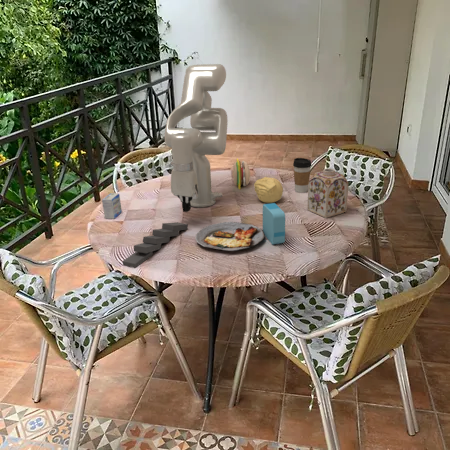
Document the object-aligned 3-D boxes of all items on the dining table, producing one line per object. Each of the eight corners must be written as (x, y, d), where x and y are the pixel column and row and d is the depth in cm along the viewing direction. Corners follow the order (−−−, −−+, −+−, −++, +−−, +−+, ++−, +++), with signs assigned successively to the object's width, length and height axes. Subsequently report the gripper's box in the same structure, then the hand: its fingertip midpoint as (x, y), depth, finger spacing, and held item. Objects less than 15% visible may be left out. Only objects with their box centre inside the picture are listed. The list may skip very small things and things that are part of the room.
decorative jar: (347, 212, 186) (350, 170, 179) (326, 219, 181) (328, 175, 173) (326, 204, 196) (329, 163, 188) (306, 210, 190) (308, 168, 183)
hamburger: (251, 188, 217) (251, 164, 213) (234, 189, 217) (233, 165, 212) (248, 181, 228) (248, 158, 224) (232, 181, 228) (231, 158, 223)
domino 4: (168, 228, 173) (152, 229, 164) (179, 230, 170) (164, 231, 162) (167, 233, 173) (152, 235, 164) (178, 235, 171) (163, 237, 162)
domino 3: (157, 234, 167) (143, 236, 158) (169, 236, 165) (155, 238, 156) (157, 240, 167) (142, 242, 158) (169, 242, 166) (155, 244, 156)
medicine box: (114, 219, 188) (111, 199, 184) (104, 218, 188) (101, 199, 185) (122, 212, 195) (119, 193, 191) (112, 211, 196) (109, 192, 192)
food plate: (272, 231, 171) (272, 223, 169) (250, 259, 152) (250, 250, 150) (213, 224, 181) (212, 216, 179) (185, 249, 162) (184, 240, 160)
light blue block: (285, 244, 161) (285, 213, 156) (273, 246, 160) (273, 214, 155) (273, 231, 172) (274, 201, 167) (262, 232, 171) (262, 203, 166)
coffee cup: (297, 186, 218) (298, 156, 212) (313, 189, 213) (314, 158, 207) (289, 191, 212) (289, 160, 206) (305, 194, 207) (306, 163, 201)
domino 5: (177, 222, 178) (162, 223, 169) (188, 224, 175) (173, 225, 167) (176, 227, 178) (161, 228, 169) (187, 229, 176) (172, 230, 167)
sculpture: (250, 200, 203) (250, 177, 198) (269, 194, 209) (270, 171, 205) (268, 207, 194) (268, 183, 190) (287, 200, 201) (288, 177, 197)
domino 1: (149, 241, 162) (133, 245, 153) (161, 243, 161) (146, 247, 151) (148, 246, 163) (133, 251, 153) (160, 248, 161) (146, 253, 152)
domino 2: (140, 248, 158) (122, 261, 150) (152, 251, 156) (134, 263, 148) (140, 253, 159) (123, 266, 151) (152, 256, 157) (135, 269, 149)
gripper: (161, 166, 171) (165, 211, 178) (195, 171, 164) (198, 217, 172) (172, 161, 177) (176, 204, 184) (205, 165, 170) (207, 210, 178)
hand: (186, 210), depth 178 cm, fingers closed
